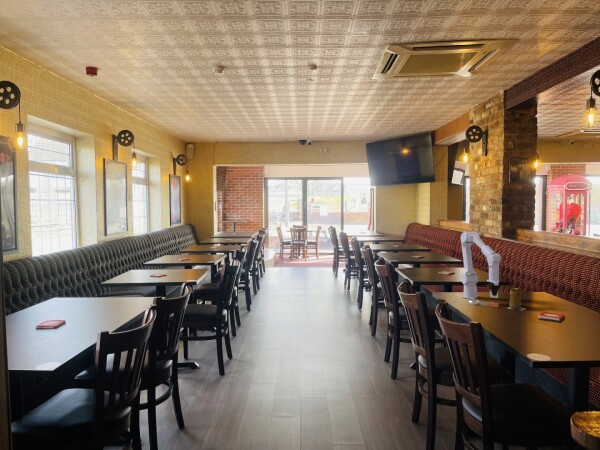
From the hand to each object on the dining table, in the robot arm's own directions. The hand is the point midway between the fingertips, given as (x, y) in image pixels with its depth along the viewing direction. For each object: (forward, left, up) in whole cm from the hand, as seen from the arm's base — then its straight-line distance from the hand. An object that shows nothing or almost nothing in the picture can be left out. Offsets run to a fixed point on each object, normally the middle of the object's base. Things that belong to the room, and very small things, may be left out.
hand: (493, 294), depth 269 cm
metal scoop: (+6, -4, -6) cm, 10 cm away
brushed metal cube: (0, 0, -2) cm, 2 cm away
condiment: (+3, +14, -6) cm, 16 cm away
